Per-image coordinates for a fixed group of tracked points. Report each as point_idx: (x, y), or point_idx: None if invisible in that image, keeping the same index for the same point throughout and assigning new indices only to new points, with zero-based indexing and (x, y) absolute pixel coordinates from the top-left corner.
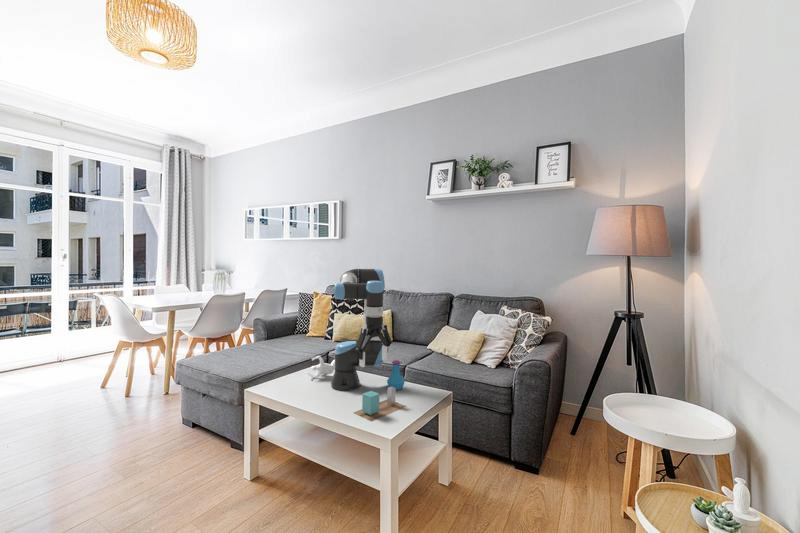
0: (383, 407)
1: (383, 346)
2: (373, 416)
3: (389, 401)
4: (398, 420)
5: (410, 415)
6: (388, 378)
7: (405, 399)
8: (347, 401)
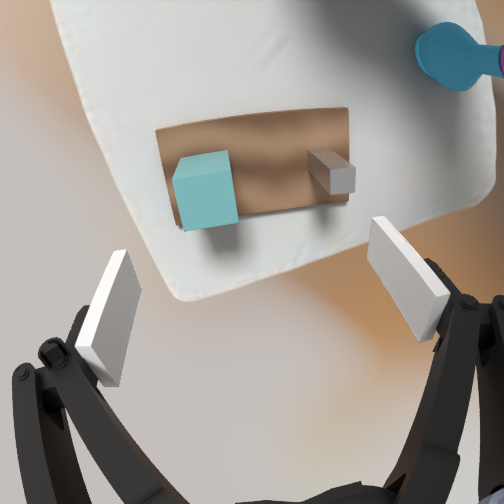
0: (280, 158)
1: (428, 308)
2: None
3: (312, 165)
4: (261, 248)
5: (314, 242)
6: (446, 27)
7: (397, 140)
8: (212, 6)
